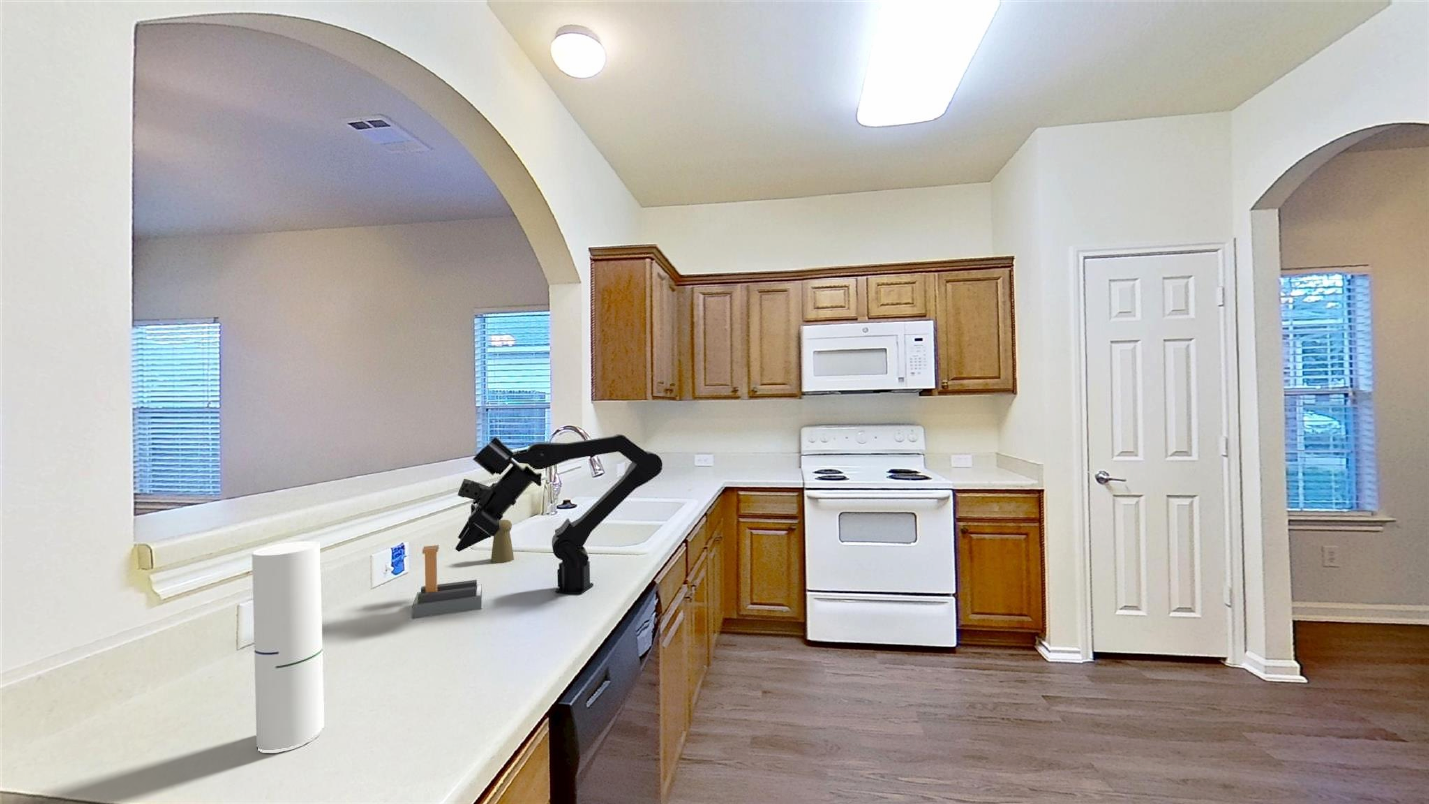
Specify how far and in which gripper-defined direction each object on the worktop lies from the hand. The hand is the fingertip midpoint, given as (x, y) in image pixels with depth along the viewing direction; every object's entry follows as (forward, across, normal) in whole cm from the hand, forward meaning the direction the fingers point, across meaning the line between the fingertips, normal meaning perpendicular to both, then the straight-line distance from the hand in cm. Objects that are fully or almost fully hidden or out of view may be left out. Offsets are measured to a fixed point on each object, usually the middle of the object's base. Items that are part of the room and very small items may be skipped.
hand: (458, 544), depth 124 cm
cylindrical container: (+20, +46, -5) cm, 51 cm away
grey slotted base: (+11, +2, +7) cm, 13 cm away
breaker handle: (+11, +2, +3) cm, 11 cm away
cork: (+4, -32, +16) cm, 36 cm away
